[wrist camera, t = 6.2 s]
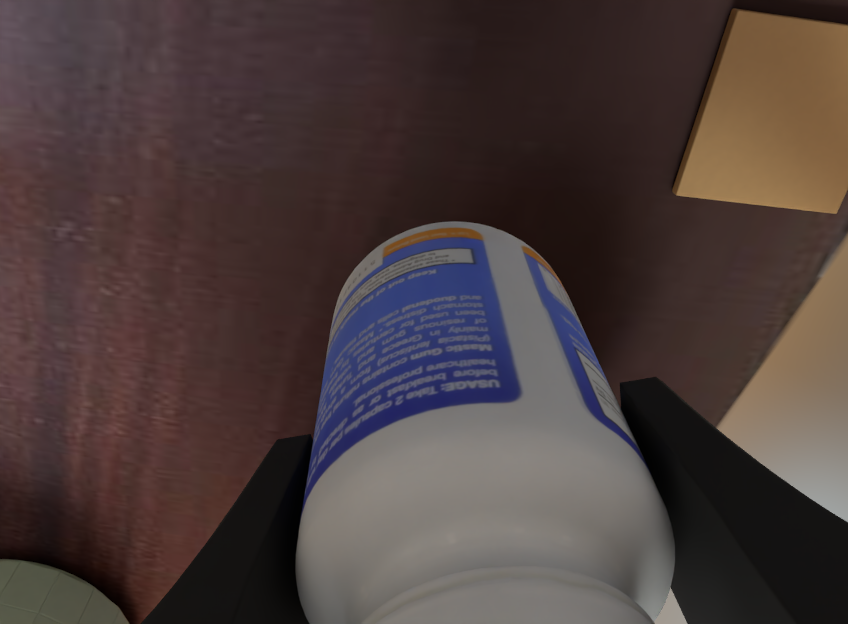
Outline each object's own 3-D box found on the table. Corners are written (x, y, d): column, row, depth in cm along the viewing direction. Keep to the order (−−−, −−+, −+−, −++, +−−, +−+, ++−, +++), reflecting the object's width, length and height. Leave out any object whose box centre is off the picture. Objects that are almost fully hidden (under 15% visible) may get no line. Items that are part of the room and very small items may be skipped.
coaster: (829, 209, 21) (836, 214, 20) (671, 191, 20) (675, 196, 20) (910, 33, 18) (921, 35, 18) (731, 7, 18) (737, 9, 17)
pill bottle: (309, 383, 16) (207, 881, 8) (372, 180, 14) (320, 596, 5) (515, 435, 17) (621, 925, 9) (609, 255, 15) (889, 704, 6)
